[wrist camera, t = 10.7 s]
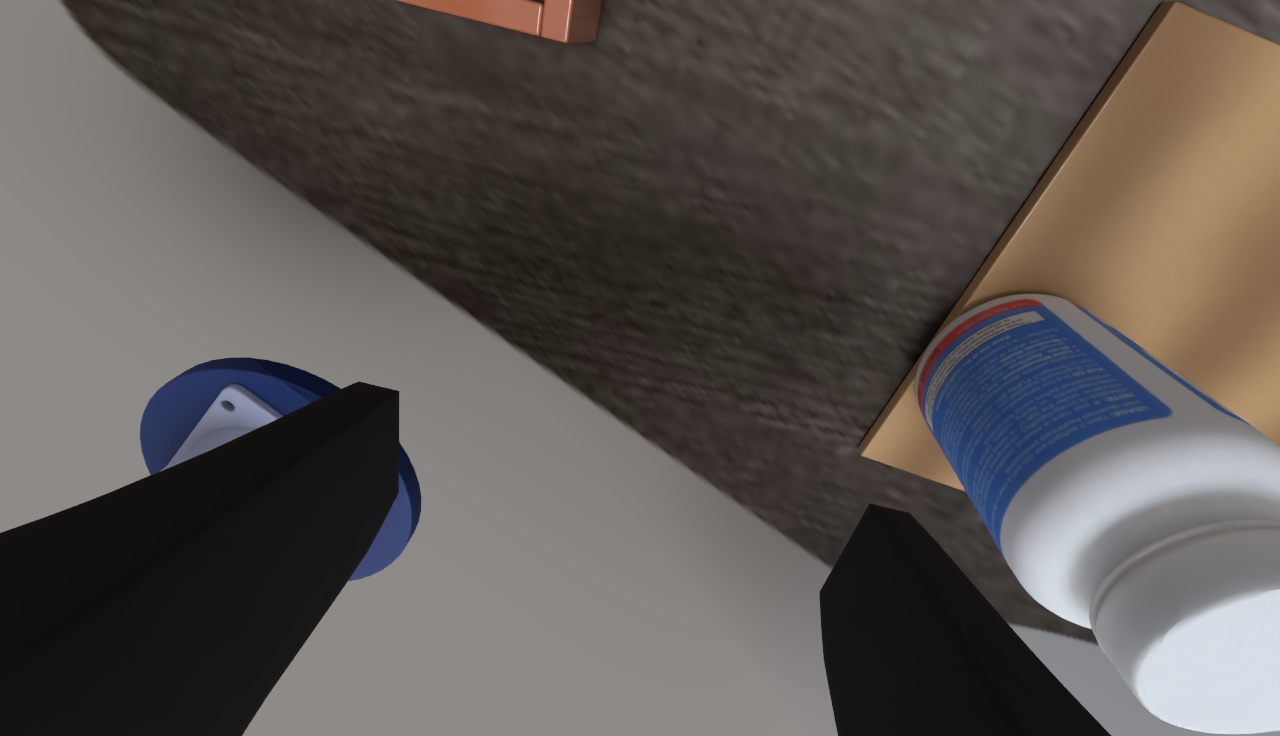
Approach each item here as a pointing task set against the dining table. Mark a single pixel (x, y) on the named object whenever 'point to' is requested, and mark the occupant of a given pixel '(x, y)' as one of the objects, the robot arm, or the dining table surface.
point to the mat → (1152, 226)
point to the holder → (528, 16)
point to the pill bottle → (1119, 501)
